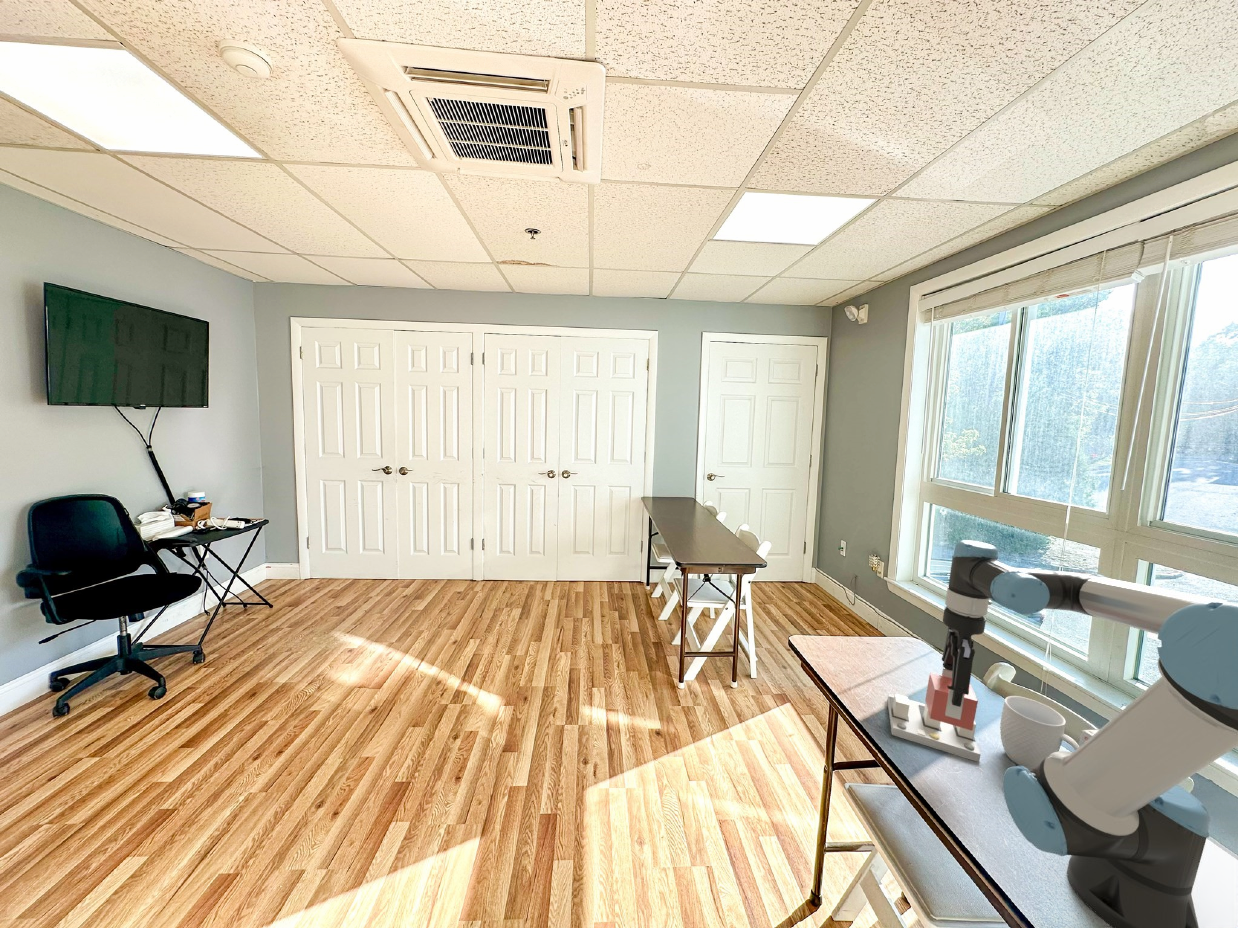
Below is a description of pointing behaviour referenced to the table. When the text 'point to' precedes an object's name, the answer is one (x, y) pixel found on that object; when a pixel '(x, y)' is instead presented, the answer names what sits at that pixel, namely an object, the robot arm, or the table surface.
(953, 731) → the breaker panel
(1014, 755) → the mug
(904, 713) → the toggle
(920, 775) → the table surface
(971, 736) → the toggle
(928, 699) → the cap
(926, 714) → the toggle
